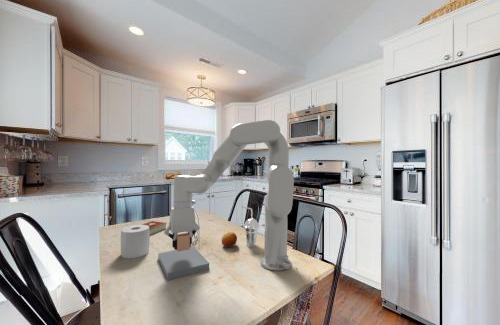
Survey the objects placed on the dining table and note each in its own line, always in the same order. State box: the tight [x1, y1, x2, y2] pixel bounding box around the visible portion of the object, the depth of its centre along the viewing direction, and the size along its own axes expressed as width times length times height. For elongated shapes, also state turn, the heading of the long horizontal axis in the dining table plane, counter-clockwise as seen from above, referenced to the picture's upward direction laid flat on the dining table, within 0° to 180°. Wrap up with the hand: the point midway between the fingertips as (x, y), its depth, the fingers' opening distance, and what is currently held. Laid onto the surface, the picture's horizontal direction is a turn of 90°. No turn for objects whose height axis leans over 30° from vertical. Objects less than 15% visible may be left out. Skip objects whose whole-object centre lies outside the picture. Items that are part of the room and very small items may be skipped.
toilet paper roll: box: [120, 224, 150, 259], centre depth 103 cm, size 12×12×12 cm
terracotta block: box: [176, 232, 190, 252], centre depth 93 cm, size 5×5×6 cm
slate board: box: [157, 246, 210, 281], centre depth 93 cm, size 20×16×2 cm
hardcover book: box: [141, 220, 168, 236], centre depth 133 cm, size 12×21×4 cm, turn 161°
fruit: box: [221, 231, 238, 248], centre depth 113 cm, size 8×8×8 cm
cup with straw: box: [241, 206, 261, 248], centre depth 114 cm, size 8×9×20 cm
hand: (182, 247), depth 93 cm, fingers closed on terracotta block, 5 cm apart
